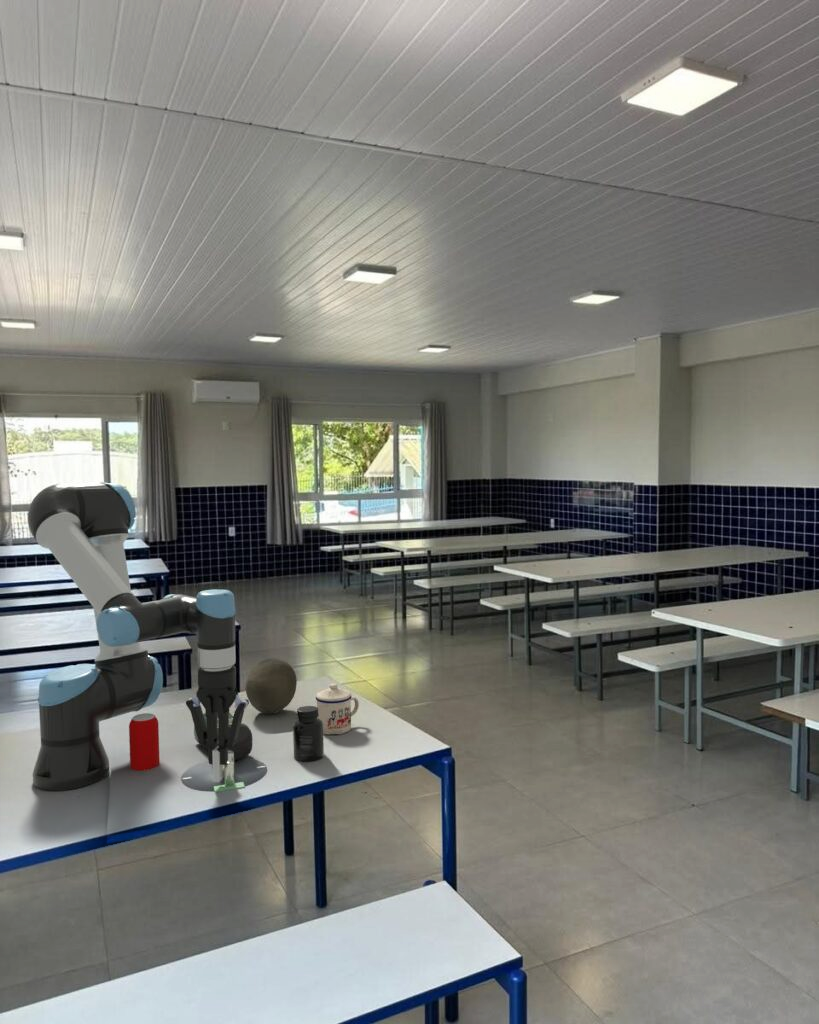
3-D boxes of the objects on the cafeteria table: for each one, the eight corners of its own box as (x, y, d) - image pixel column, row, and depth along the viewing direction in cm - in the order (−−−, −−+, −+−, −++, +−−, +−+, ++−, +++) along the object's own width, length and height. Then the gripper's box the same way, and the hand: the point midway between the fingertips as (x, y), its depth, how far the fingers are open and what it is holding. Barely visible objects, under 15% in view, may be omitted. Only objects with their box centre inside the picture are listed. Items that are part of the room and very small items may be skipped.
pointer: (213, 769, 160) (213, 748, 160) (232, 766, 161) (232, 745, 161) (220, 788, 151) (219, 765, 150) (240, 784, 152) (239, 762, 152)
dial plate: (184, 802, 147) (183, 796, 147) (178, 768, 164) (178, 763, 164) (274, 787, 154) (273, 781, 154) (260, 756, 170) (259, 751, 170)
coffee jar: (231, 707, 182) (256, 724, 166) (232, 739, 182) (256, 759, 166) (192, 712, 177) (213, 730, 161) (192, 745, 177) (214, 767, 161)
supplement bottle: (330, 758, 169) (329, 707, 168) (310, 768, 163) (308, 715, 162) (307, 752, 173) (306, 702, 172) (287, 762, 167) (286, 710, 166)
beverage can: (125, 774, 161) (123, 720, 161) (139, 763, 167) (137, 711, 167) (151, 775, 160) (149, 721, 160) (164, 764, 167) (163, 712, 166)
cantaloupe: (236, 712, 202) (235, 658, 201) (283, 702, 211) (281, 650, 210) (259, 726, 191) (258, 669, 190) (307, 715, 199) (306, 660, 199)
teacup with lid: (328, 738, 182) (327, 692, 181) (309, 728, 189) (308, 683, 188) (368, 727, 189) (367, 682, 188) (348, 718, 196) (348, 675, 196)
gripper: (253, 662, 153) (254, 773, 154) (195, 660, 155) (196, 769, 156) (240, 672, 146) (241, 788, 147) (178, 670, 148) (180, 784, 149)
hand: (218, 779), depth 152 cm, fingers closed
